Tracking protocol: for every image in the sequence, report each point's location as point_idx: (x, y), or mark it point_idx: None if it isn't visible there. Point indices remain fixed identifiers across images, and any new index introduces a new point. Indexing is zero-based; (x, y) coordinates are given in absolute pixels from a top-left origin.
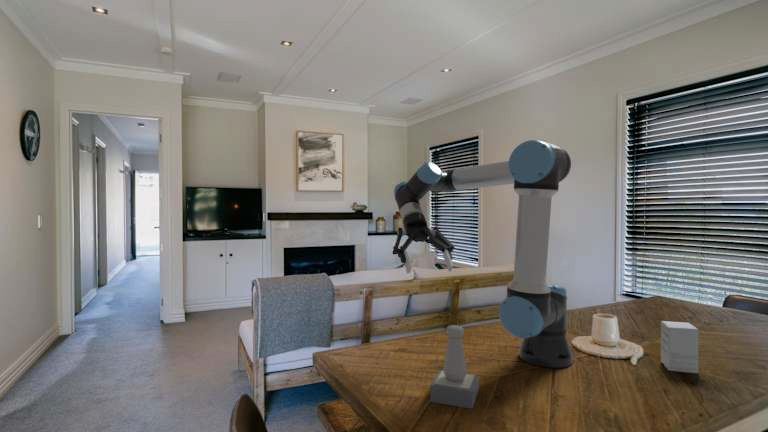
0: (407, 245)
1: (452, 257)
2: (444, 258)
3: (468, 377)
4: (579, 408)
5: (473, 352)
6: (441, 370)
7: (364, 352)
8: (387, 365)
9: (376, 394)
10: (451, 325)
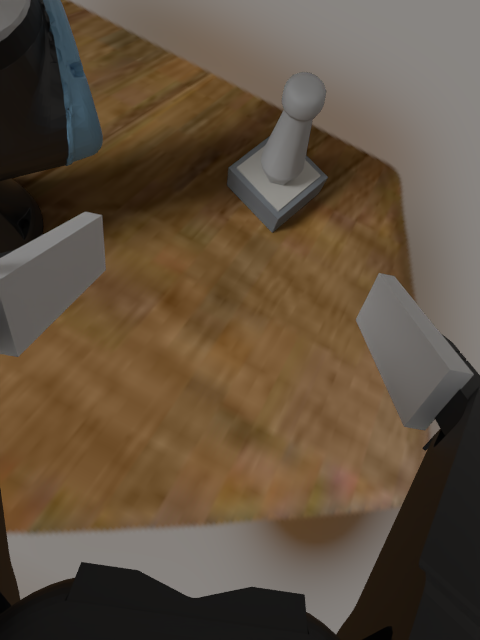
0: (452, 449)
1: (3, 252)
2: (46, 319)
3: (253, 165)
4: (132, 78)
5: (98, 337)
6: (276, 216)
7: (333, 457)
8: (317, 357)
9: (383, 253)
10: (310, 95)
